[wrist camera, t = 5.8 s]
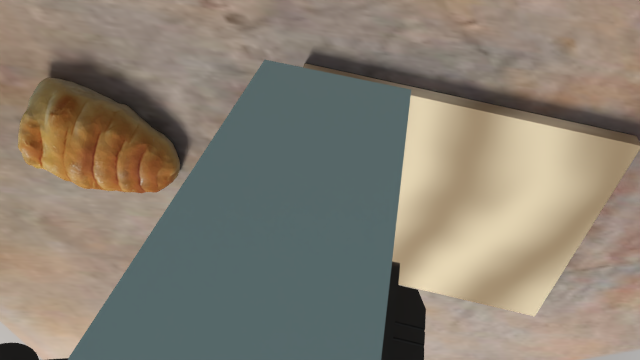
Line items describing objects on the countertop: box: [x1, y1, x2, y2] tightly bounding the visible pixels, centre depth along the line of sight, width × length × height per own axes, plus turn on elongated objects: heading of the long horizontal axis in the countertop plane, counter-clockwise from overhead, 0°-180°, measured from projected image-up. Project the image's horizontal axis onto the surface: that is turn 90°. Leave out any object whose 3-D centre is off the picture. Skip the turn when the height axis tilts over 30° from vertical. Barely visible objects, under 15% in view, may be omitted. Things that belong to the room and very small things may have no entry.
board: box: [303, 63, 640, 316], centre depth 33 cm, size 18×14×1 cm
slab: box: [68, 60, 411, 360], centre depth 11 cm, size 3×9×8 cm, turn 172°
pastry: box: [18, 78, 180, 193], centre depth 33 cm, size 9×7×4 cm
